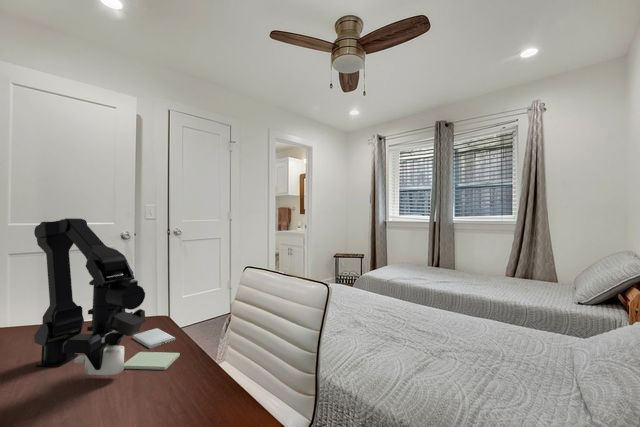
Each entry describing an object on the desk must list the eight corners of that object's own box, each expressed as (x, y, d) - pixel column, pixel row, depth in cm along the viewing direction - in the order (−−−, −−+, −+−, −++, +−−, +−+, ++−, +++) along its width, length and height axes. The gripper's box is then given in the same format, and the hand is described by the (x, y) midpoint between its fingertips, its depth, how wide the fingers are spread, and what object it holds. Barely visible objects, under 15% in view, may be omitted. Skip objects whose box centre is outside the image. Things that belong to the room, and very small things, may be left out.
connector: (70, 374, 72) (71, 351, 72) (83, 365, 76) (84, 344, 76) (116, 375, 72) (117, 352, 72) (127, 366, 76) (128, 345, 76)
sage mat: (121, 368, 79) (121, 365, 79) (139, 354, 87) (139, 351, 87) (165, 369, 79) (165, 366, 79) (179, 355, 87) (179, 352, 87)
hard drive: (132, 334, 98) (149, 345, 91) (157, 327, 105) (175, 336, 97) (132, 339, 98) (149, 350, 91) (157, 332, 105) (175, 341, 97)
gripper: (112, 316, 64) (109, 387, 64) (158, 294, 83) (156, 349, 83) (62, 315, 64) (59, 386, 64) (120, 293, 83) (117, 348, 83)
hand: (104, 365), depth 74 cm, fingers closed on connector, 4 cm apart
